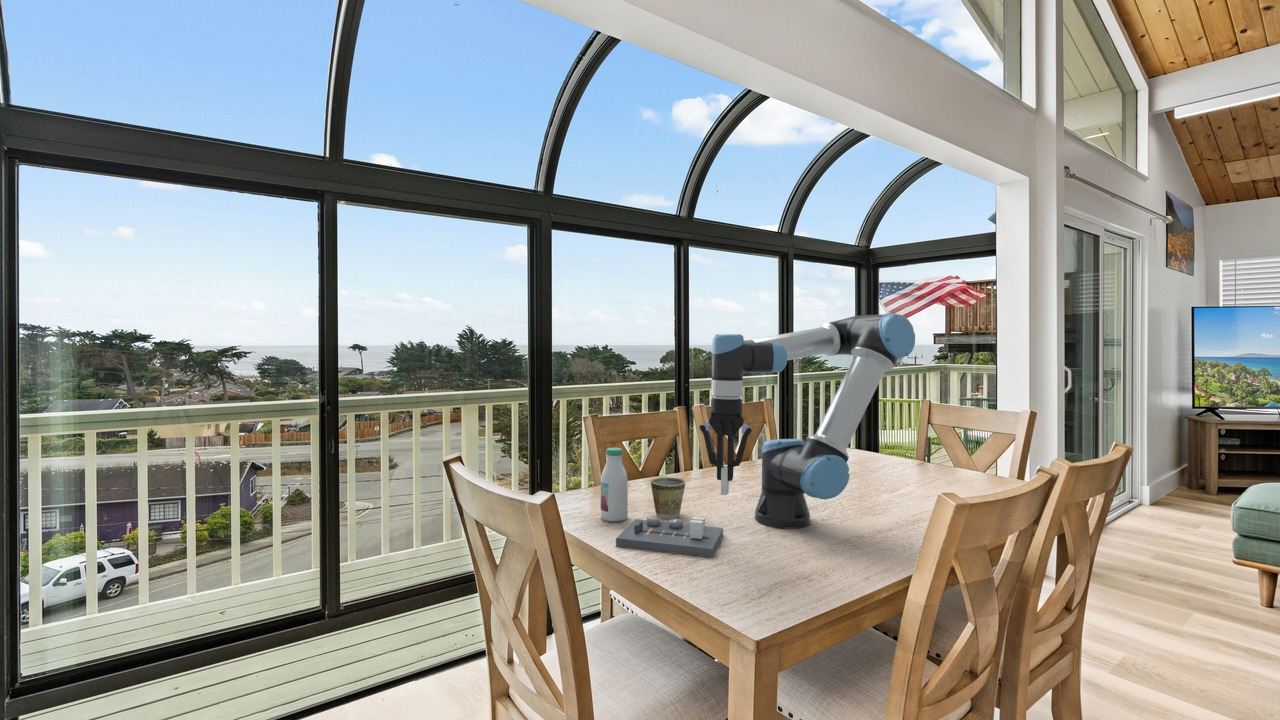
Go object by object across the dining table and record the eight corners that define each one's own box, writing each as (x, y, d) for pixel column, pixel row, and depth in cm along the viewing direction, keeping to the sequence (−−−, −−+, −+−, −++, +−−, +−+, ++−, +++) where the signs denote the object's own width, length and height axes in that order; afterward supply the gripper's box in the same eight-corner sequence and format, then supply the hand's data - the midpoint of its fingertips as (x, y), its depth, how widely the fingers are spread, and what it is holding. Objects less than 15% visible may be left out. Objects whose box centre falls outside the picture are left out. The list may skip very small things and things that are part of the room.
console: (722, 535, 152) (723, 520, 152) (712, 557, 137) (712, 540, 137) (635, 526, 159) (635, 511, 159) (615, 546, 144) (616, 530, 144)
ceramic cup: (679, 522, 163) (679, 486, 163) (645, 518, 166) (646, 483, 166) (691, 509, 175) (691, 476, 175) (660, 506, 179) (660, 473, 178)
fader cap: (704, 533, 146) (705, 517, 146) (701, 539, 143) (702, 522, 142) (692, 532, 147) (693, 516, 147) (689, 537, 143) (689, 521, 143)
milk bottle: (629, 514, 170) (629, 446, 169) (625, 522, 162) (626, 451, 161) (602, 513, 171) (603, 445, 170) (598, 521, 163) (598, 450, 162)
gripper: (755, 397, 143) (753, 492, 144) (703, 394, 147) (701, 487, 148) (752, 400, 136) (749, 500, 137) (697, 397, 140) (695, 494, 141)
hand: (724, 493), depth 142 cm, fingers closed
